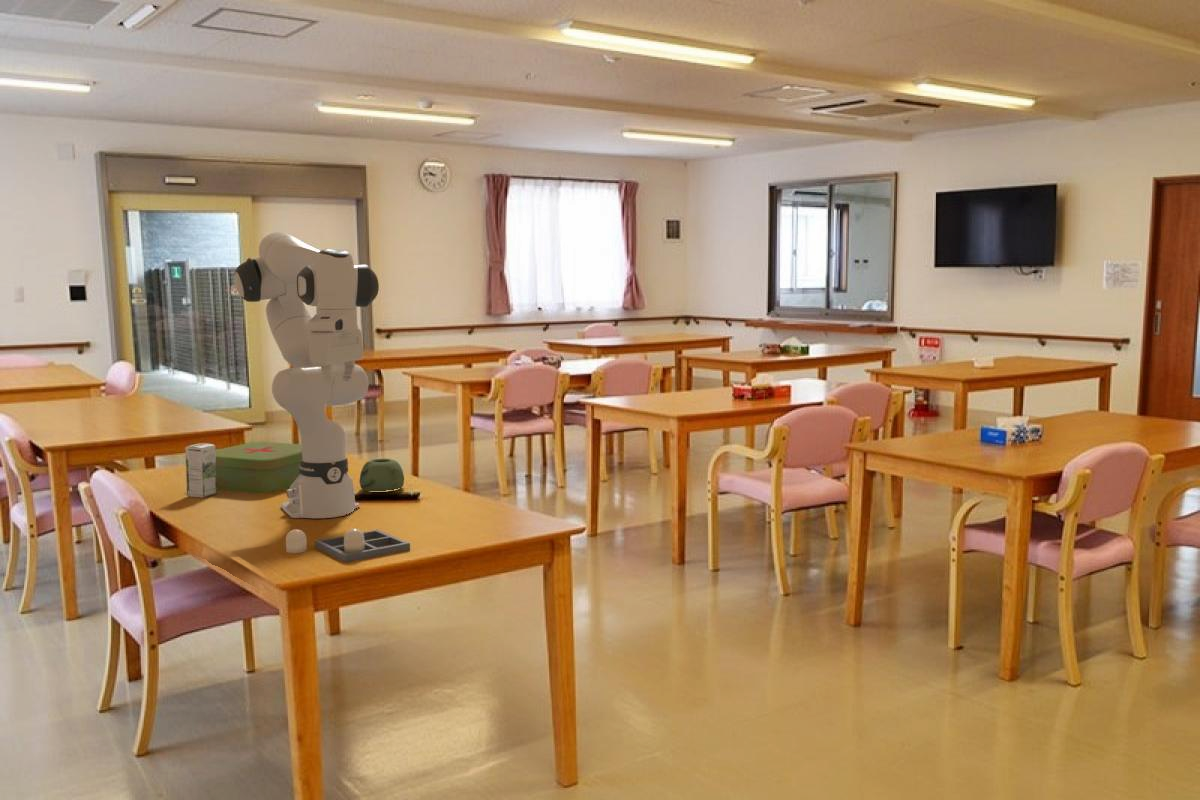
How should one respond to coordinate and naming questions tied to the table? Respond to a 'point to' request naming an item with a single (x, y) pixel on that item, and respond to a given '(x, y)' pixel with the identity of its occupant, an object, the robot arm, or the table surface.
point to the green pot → (381, 475)
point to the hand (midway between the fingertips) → (339, 382)
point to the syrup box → (201, 470)
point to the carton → (374, 546)
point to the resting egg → (354, 541)
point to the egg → (296, 541)
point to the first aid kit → (258, 467)
